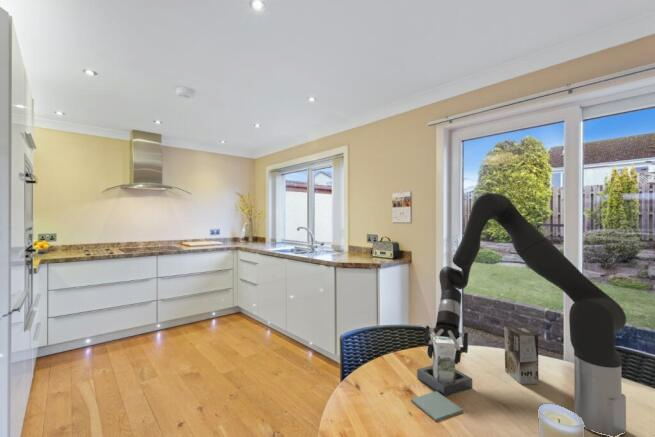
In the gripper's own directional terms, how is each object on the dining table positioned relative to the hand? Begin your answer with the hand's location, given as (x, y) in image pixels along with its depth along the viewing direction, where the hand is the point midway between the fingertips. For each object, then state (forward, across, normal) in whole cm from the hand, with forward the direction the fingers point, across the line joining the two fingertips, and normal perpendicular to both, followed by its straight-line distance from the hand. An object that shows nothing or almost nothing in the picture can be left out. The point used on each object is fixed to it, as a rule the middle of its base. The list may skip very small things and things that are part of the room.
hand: (443, 360), depth 98 cm
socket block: (+5, 0, +7) cm, 8 cm away
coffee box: (-8, +22, +19) cm, 30 cm away
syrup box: (+5, 0, +7) cm, 8 cm away
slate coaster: (+15, 0, -3) cm, 15 cm away
